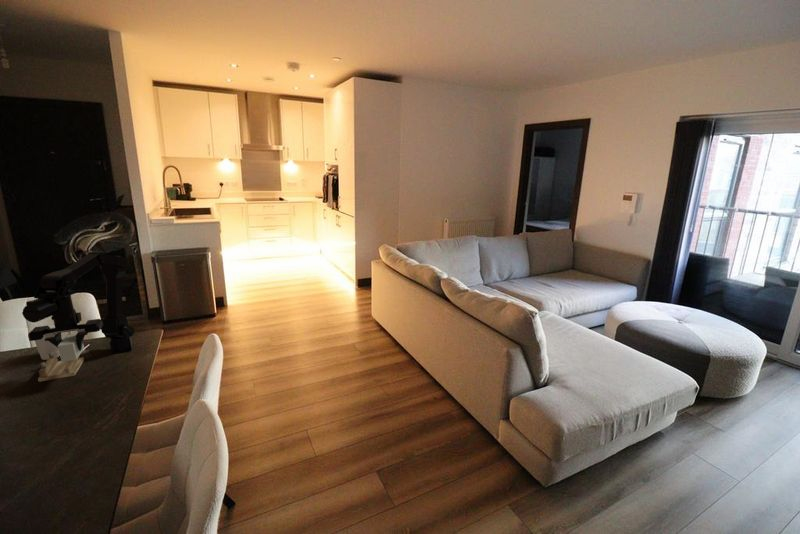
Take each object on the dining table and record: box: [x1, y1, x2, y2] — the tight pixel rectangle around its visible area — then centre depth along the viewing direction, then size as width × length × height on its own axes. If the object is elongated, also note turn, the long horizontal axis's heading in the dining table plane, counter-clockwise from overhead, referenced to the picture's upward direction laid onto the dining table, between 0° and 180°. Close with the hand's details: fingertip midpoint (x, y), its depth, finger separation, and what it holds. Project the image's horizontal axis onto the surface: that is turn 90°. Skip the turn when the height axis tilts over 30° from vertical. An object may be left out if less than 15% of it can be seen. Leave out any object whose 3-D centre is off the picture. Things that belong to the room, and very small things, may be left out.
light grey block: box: [58, 333, 85, 362], centre depth 130 cm, size 4×9×6 cm, turn 26°
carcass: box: [37, 352, 85, 383], centre depth 137 cm, size 10×12×6 cm
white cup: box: [33, 335, 63, 361], centre depth 147 cm, size 8×8×10 cm
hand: (72, 351), depth 131 cm, fingers closed on light grey block, 4 cm apart
